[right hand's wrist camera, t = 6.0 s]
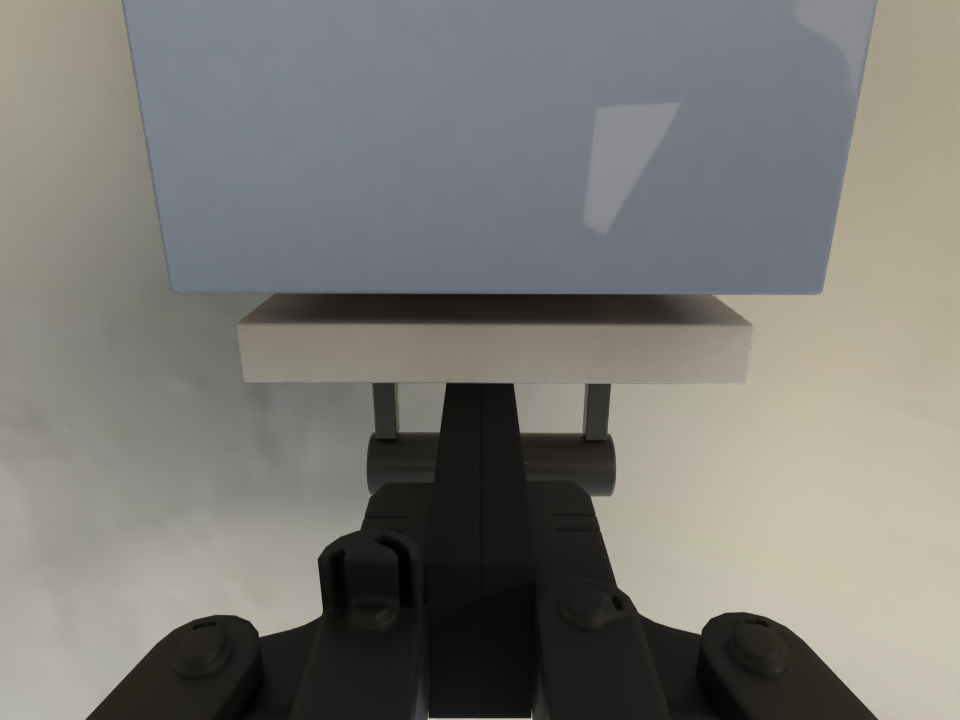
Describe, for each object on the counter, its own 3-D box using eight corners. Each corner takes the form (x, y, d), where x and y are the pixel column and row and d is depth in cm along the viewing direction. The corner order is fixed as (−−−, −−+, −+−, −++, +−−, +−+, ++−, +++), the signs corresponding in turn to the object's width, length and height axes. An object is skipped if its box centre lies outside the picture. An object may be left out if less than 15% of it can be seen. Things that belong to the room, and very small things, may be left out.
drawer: (623, 420, 23) (712, 609, 14) (356, 419, 23) (272, 606, 14) (692, -385, 16) (974, -1093, 7) (298, -382, 16) (40, -1078, 7)
